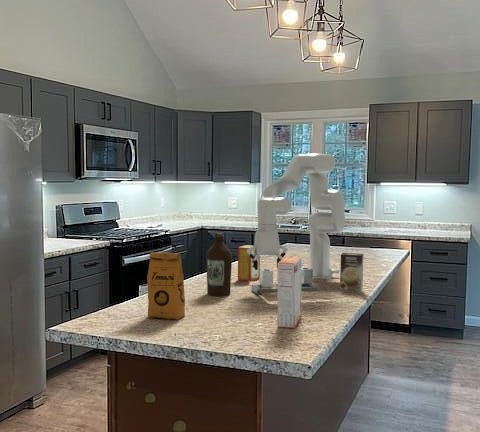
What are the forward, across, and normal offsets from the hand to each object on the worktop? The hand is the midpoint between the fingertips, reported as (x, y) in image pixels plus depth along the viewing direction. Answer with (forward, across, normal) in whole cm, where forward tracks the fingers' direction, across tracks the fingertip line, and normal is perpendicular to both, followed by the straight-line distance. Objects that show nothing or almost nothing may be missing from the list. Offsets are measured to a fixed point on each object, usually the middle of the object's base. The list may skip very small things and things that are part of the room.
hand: (267, 268), depth 221 cm
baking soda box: (+11, +2, -29) cm, 31 cm away
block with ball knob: (+10, -19, -8) cm, 23 cm away
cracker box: (+9, +5, +49) cm, 50 cm away
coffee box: (+11, -35, +5) cm, 37 cm away
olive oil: (+9, +21, +1) cm, 23 cm away
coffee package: (+8, +44, +35) cm, 56 cm away
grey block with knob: (+8, +1, +1) cm, 8 cm away
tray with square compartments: (+10, -7, +1) cm, 12 cm away
